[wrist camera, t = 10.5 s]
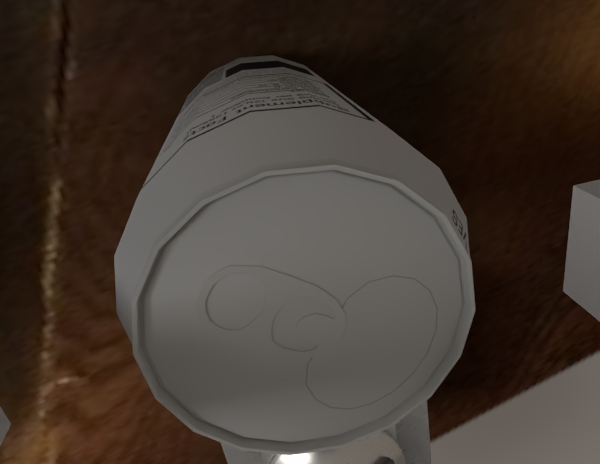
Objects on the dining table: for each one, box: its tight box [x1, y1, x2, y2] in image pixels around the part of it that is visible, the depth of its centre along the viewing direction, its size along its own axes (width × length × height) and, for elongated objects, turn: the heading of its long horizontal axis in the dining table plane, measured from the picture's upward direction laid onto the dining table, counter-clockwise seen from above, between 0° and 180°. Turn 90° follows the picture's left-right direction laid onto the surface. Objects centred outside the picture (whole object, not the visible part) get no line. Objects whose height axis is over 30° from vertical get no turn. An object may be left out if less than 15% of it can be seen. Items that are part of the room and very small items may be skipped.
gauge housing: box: [221, 400, 431, 464], centre depth 25 cm, size 9×9×9 cm
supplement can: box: [114, 55, 475, 455], centre depth 16 cm, size 8×8×15 cm
